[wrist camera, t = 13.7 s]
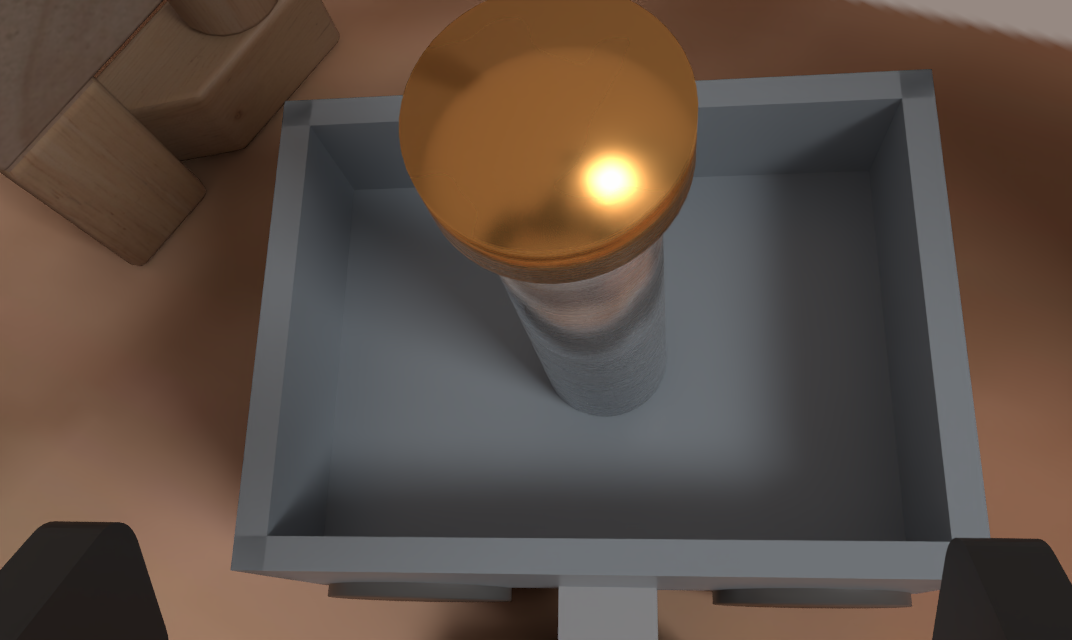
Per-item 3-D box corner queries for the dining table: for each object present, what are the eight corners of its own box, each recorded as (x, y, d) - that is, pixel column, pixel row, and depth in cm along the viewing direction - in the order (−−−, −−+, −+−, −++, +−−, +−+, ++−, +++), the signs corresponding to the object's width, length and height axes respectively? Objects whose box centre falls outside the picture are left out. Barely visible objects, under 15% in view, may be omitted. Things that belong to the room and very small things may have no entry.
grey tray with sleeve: (855, 217, 30) (930, 57, 21) (920, 931, 24) (1058, 1088, 15) (383, 232, 31) (286, 90, 23) (333, 897, 25) (178, 1022, 17)
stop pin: (685, 280, 24) (693, -26, 13) (689, 436, 23) (703, 245, 12) (528, 284, 25) (408, -7, 14) (523, 437, 23) (388, 255, 12)
